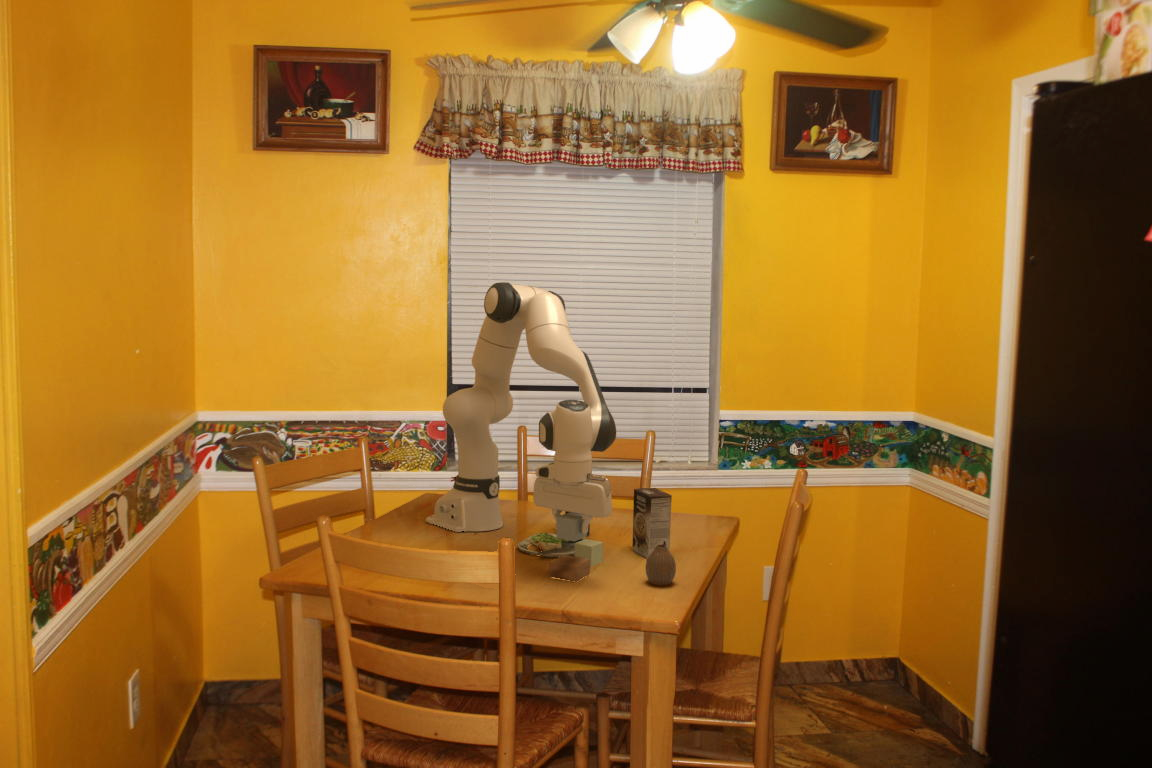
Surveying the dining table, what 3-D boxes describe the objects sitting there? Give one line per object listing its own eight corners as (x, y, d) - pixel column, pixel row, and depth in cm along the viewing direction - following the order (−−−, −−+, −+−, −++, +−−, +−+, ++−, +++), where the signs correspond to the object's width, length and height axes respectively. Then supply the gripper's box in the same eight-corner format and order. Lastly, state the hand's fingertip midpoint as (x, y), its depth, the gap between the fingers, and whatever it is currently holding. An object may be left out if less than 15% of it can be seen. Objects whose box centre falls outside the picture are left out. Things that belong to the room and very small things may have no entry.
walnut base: (549, 579, 215) (549, 562, 214) (563, 571, 221) (563, 554, 221) (576, 584, 212) (576, 566, 211) (589, 575, 218) (590, 559, 218)
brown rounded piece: (642, 578, 216) (643, 541, 215) (672, 578, 216) (673, 541, 216) (647, 588, 209) (648, 550, 208) (678, 588, 210) (679, 549, 209)
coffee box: (631, 550, 239) (632, 488, 237) (653, 548, 242) (655, 486, 240) (647, 560, 231) (649, 496, 229) (670, 557, 233) (672, 494, 232)
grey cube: (569, 533, 219) (569, 512, 218) (586, 536, 216) (587, 515, 216) (556, 537, 215) (556, 516, 214) (574, 541, 212) (574, 519, 211)
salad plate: (569, 566, 226) (569, 547, 225) (504, 556, 233) (504, 538, 232) (599, 546, 244) (599, 529, 243) (537, 538, 251) (537, 521, 250)
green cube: (574, 563, 227) (574, 543, 227) (586, 558, 231) (586, 538, 231) (591, 567, 224) (591, 546, 224) (602, 562, 228) (603, 542, 228)
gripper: (618, 475, 211) (617, 535, 212) (546, 464, 222) (545, 521, 224) (602, 479, 205) (601, 540, 207) (529, 468, 217) (529, 526, 219)
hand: (571, 530), depth 215 cm, fingers closed on grey cube, 5 cm apart
